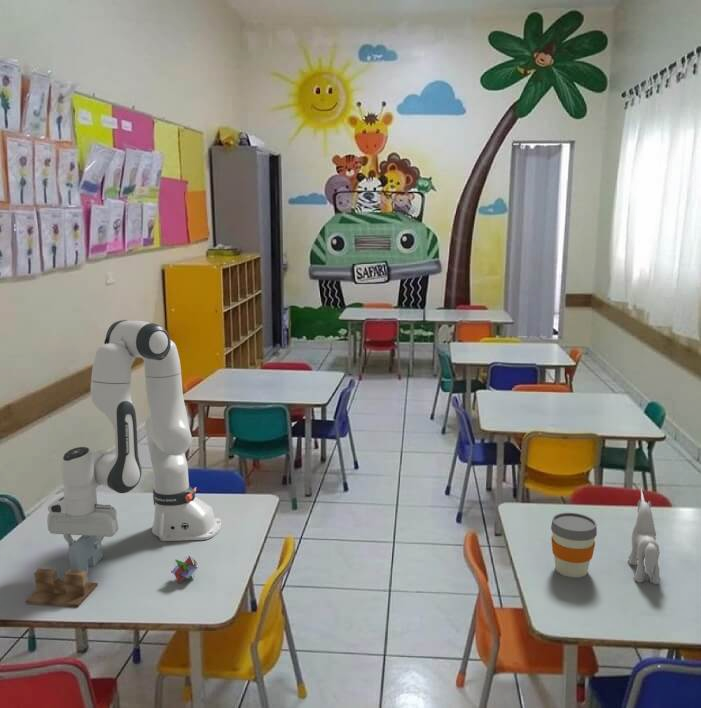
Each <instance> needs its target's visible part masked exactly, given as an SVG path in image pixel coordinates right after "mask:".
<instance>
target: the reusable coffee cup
mask: <svg viewBox="0 0 701 708" xmlns="http://www.w3.org/2000/svg"><path fill="white" fill-rule="evenodd" d="M550 529H551V533H552V535H551V537H550V539H551V550H552V555H553V557H554V567H555V568H554V569H555V570H556V571H557V573H559V574H560V575H562V576H565V577H568V578H583V577H585V576H587V574H588V571H589V566H590V562H591V560H592V559H593V556H594V551H595V546H596V539H595V538H596V537H597V535H598V534H597V533H598V532H597V531H598V530H597V522H596V521H595V520H594V519H593V518H591V517H590V516H588V515H585V514H582V513H577V512H561V513H556V514H555V515H554V516H553V517H552V519H551V525H550Z"/></svg>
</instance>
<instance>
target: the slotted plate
mask: <svg viewBox="0 0 701 708" xmlns="http://www.w3.org/2000/svg"><path fill="white" fill-rule="evenodd" d="M96 541H98V539H97V538H96V536H85V535H80V537H79V538H78V539H77V540H76V542H75V543H74V544H73V545H71V546H70V547H69V546H68V548H67V551H68V558H69V559H68V561H69V570H74V571H86V572H87V574H88V573H89V567H94V566H95V565H97V563H98V562H99V561H100V560H101V559H102V558H103V551H102V547H101V548H100V549H94V543H95V542H96Z"/></svg>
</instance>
